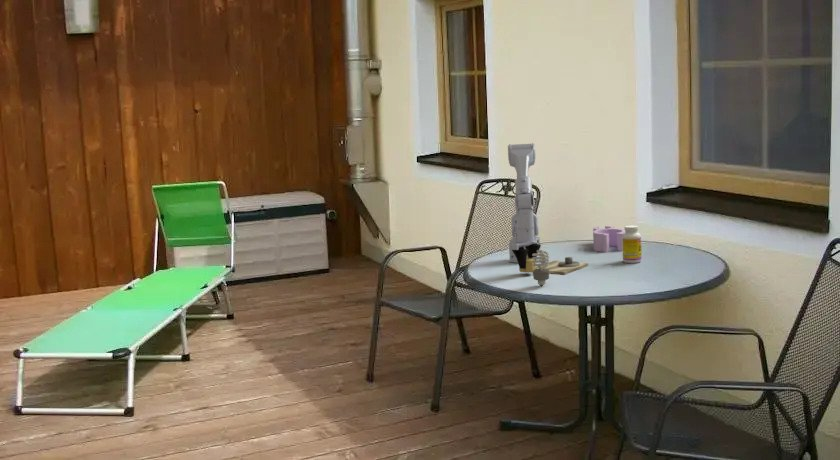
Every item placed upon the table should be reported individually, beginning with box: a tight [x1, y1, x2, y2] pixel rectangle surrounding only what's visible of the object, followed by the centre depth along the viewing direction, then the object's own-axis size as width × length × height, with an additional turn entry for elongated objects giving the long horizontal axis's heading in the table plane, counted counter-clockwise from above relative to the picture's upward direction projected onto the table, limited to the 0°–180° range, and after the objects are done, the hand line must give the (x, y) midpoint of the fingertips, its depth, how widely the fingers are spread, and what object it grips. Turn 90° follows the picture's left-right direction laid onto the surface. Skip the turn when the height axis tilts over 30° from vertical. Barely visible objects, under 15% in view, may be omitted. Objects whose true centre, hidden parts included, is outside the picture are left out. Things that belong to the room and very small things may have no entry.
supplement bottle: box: [622, 224, 643, 264], centre depth 345 cm, size 7×7×13 cm
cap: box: [518, 258, 537, 273], centre depth 335 cm, size 5×5×4 cm
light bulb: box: [532, 249, 550, 287], centre depth 316 cm, size 6×6×12 cm
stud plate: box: [536, 256, 589, 275], centre depth 342 cm, size 14×16×3 cm
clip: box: [592, 225, 625, 254], centre depth 375 cm, size 20×12×7 cm, turn 3°
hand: (527, 266), depth 335 cm, fingers closed on cap, 5 cm apart
